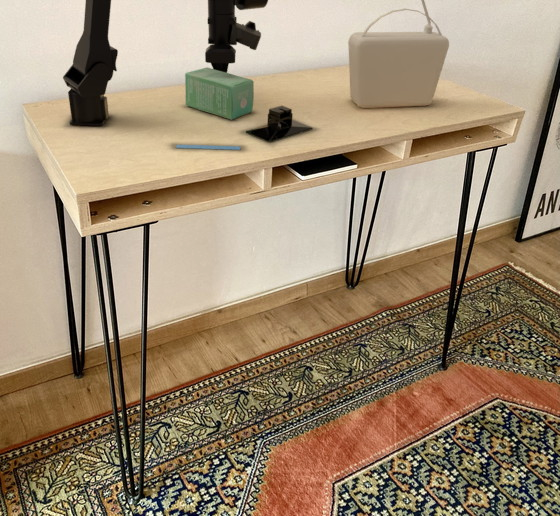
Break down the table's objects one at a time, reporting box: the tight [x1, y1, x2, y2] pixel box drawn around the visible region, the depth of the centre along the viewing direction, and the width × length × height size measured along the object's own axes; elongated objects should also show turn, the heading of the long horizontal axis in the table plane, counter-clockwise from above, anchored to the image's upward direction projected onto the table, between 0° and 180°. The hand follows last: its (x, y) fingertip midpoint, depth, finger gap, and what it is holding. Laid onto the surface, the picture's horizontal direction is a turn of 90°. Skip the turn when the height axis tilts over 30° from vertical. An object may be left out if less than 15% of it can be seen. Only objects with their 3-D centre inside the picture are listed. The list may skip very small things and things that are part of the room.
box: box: [184, 66, 255, 121], centre depth 134 cm, size 7×14×8 cm, turn 54°
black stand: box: [245, 105, 313, 144], centre depth 126 cm, size 12×7×5 cm, turn 134°
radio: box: [347, 0, 450, 109], centre depth 140 cm, size 22×8×25 cm, turn 104°
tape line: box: [175, 144, 241, 151], centre depth 118 cm, size 12×2×1 cm, turn 92°
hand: (222, 84), depth 142 cm, fingers closed
